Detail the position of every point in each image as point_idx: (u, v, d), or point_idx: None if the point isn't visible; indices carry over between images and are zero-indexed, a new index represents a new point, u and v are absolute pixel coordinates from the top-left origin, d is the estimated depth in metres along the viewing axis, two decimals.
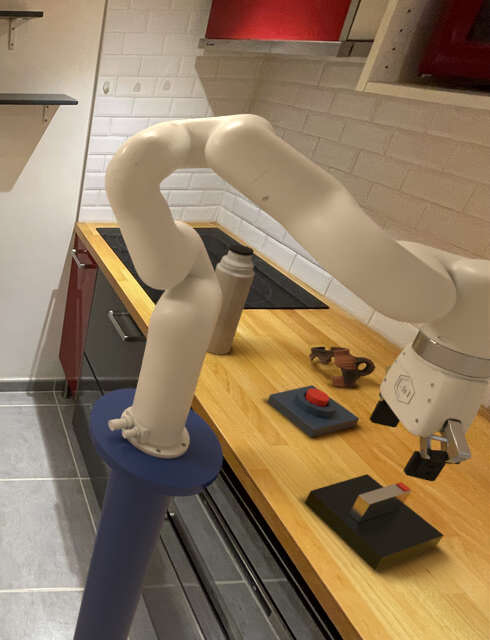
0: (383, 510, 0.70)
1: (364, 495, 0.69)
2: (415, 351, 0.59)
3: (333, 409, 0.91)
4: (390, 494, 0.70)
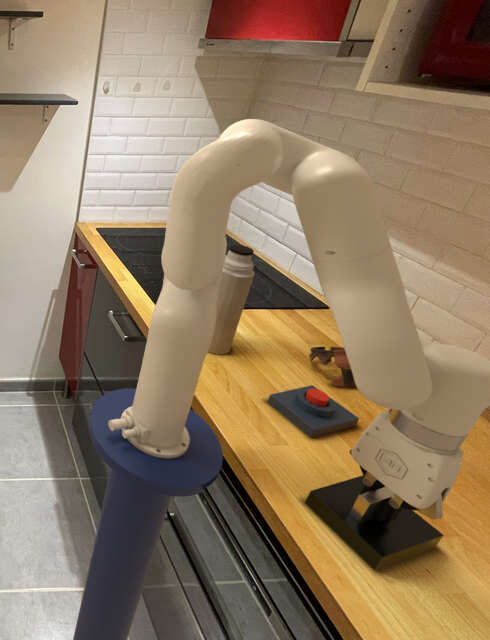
0: None
1: (364, 495, 0.69)
2: (404, 434, 0.64)
3: (333, 409, 0.91)
4: (390, 494, 0.70)
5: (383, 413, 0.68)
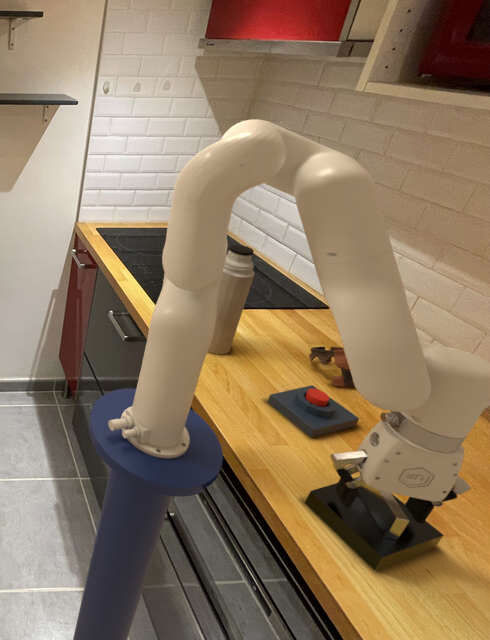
0: None
1: (397, 514, 0.67)
2: (439, 452, 0.61)
3: (333, 409, 0.91)
4: None
5: (392, 435, 0.65)
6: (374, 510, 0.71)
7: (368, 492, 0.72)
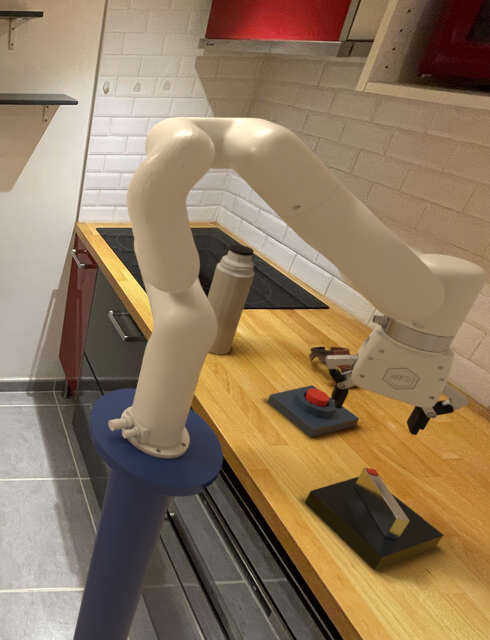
0: None
1: (397, 514, 0.67)
2: (419, 349, 0.66)
3: (333, 409, 0.91)
4: (386, 490, 0.70)
5: (379, 334, 0.70)
6: (374, 510, 0.71)
7: (368, 492, 0.72)
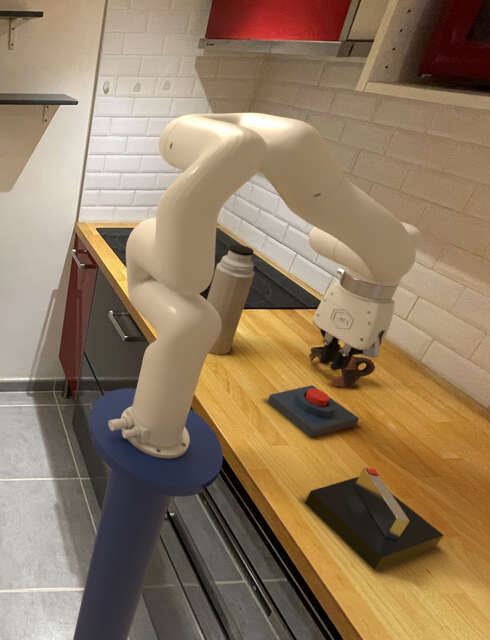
0: None
1: (397, 514, 0.67)
2: (350, 291, 0.82)
3: (333, 409, 0.91)
4: (386, 490, 0.70)
5: (336, 282, 0.86)
6: (374, 510, 0.71)
7: (368, 492, 0.72)
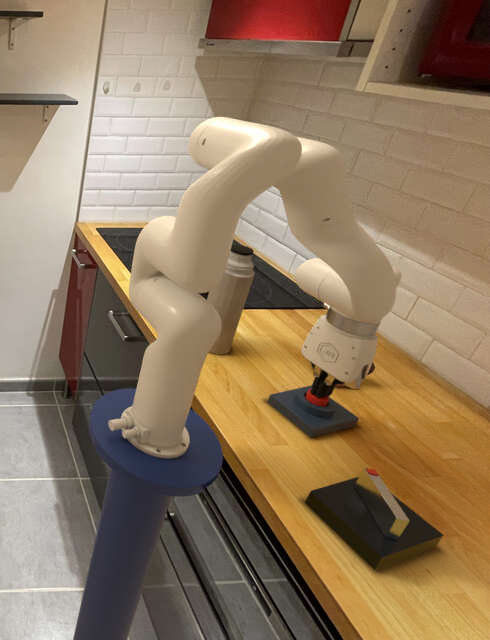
0: None
1: (397, 514, 0.67)
2: (335, 327, 0.85)
3: (333, 409, 0.91)
4: (386, 490, 0.70)
5: (322, 316, 0.89)
6: (374, 510, 0.71)
7: (368, 492, 0.72)
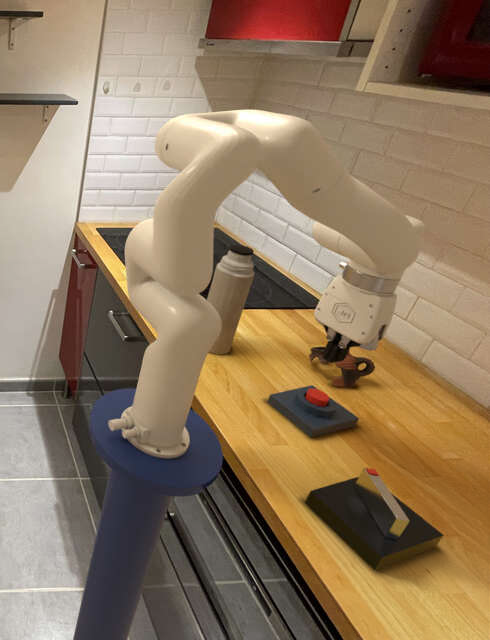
0: None
1: (397, 514, 0.67)
2: (352, 284, 0.81)
3: (333, 409, 0.91)
4: (386, 490, 0.70)
5: (338, 276, 0.85)
6: (374, 510, 0.71)
7: (368, 492, 0.72)
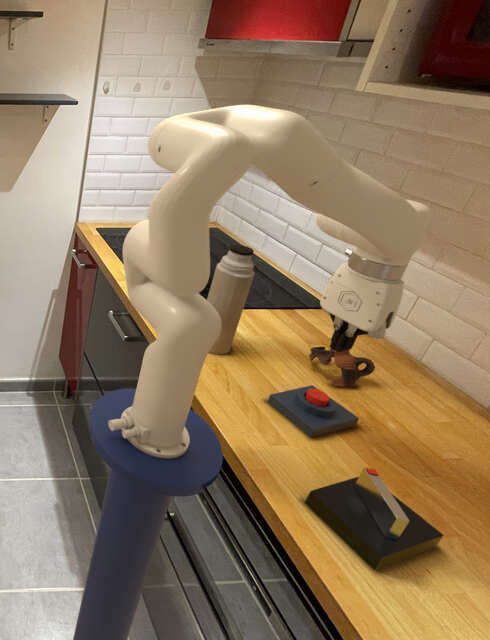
0: None
1: (397, 514, 0.67)
2: (358, 272, 0.80)
3: (333, 409, 0.91)
4: (386, 490, 0.70)
5: (344, 263, 0.84)
6: (374, 510, 0.71)
7: (368, 492, 0.72)
